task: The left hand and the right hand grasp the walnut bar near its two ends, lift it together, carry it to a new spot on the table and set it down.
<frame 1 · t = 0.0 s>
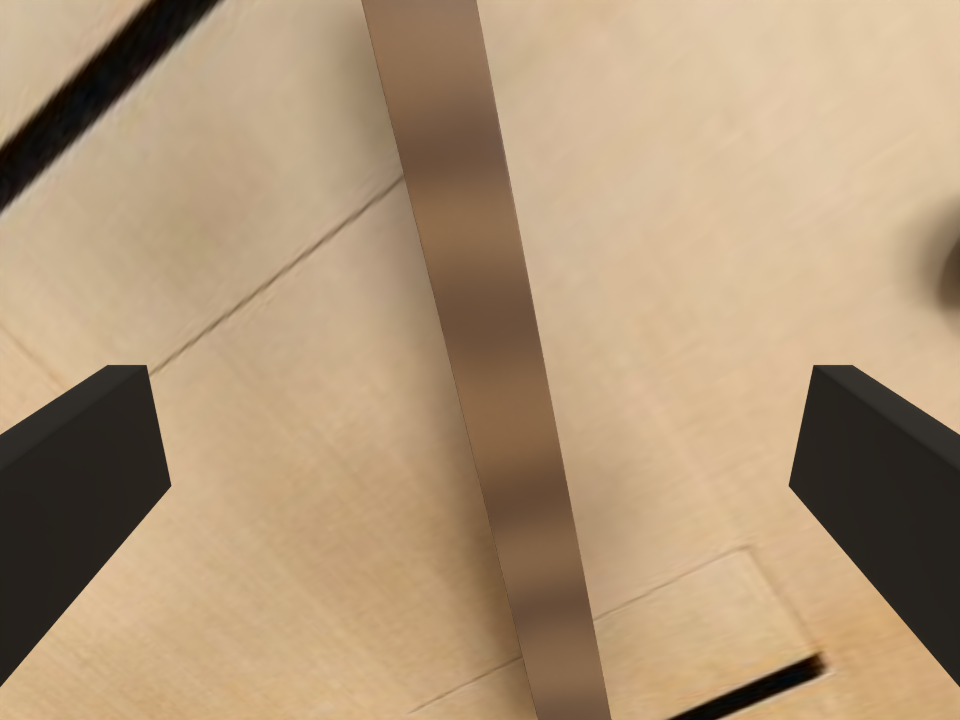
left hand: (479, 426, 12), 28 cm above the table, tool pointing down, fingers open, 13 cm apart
bar: (517, 430, 44), on the table
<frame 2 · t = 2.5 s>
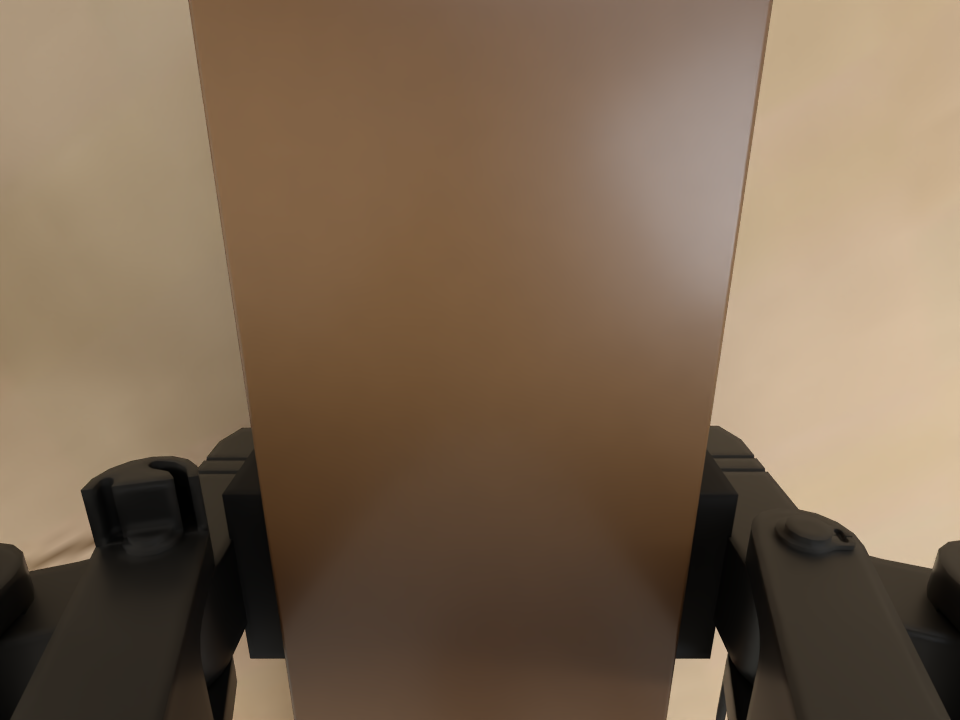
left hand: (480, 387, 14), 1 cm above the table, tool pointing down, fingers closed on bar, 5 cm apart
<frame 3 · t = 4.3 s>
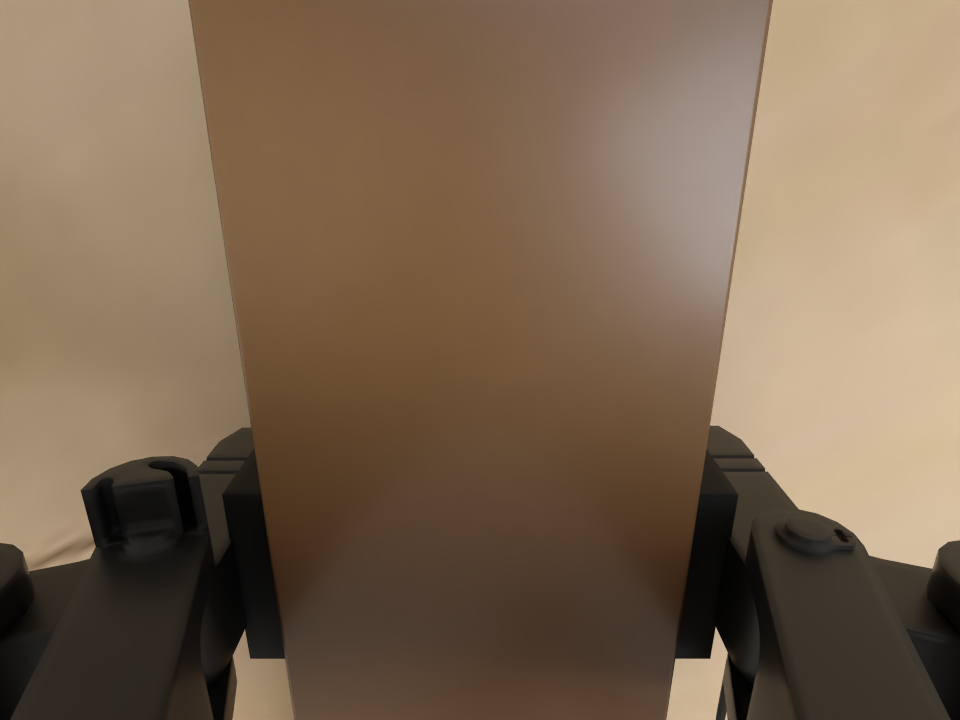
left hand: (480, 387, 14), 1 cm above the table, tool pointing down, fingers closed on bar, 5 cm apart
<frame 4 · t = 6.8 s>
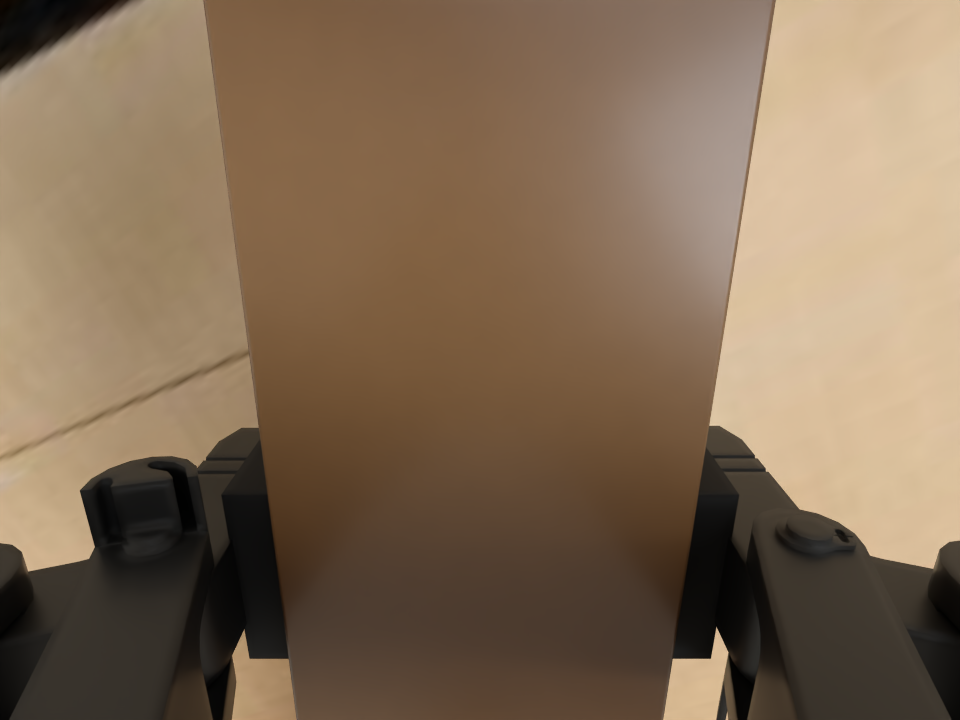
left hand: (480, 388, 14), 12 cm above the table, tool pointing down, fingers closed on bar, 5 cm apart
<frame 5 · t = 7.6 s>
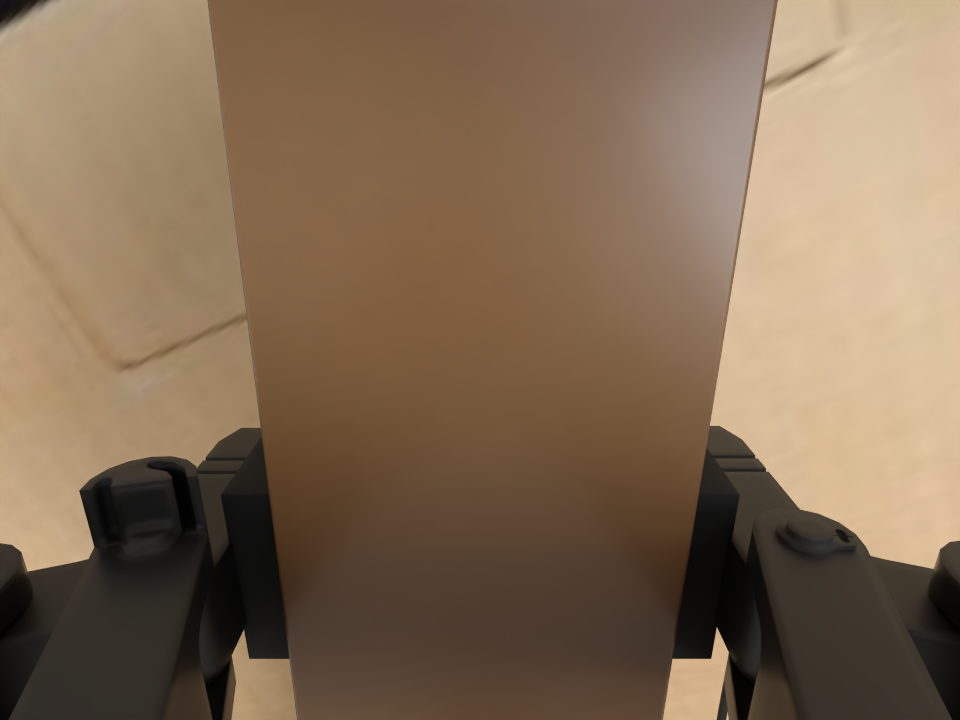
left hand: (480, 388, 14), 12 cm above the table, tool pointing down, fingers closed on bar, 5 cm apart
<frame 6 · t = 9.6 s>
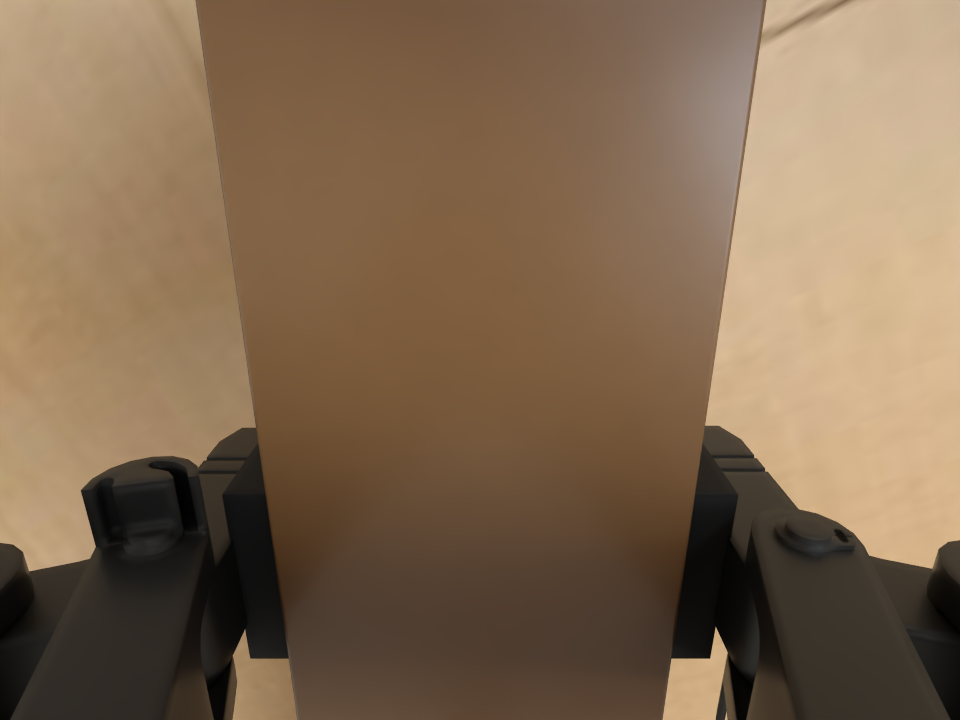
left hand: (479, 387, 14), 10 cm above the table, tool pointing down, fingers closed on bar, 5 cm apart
when the left hand's fingers open (2 cm above the table, at t = 11.1 s): bar drops 1 cm, on the table.
when the right hand's fingers open (4 cm above the table, at t = 11.3 s): bar stays where it is, on the table.
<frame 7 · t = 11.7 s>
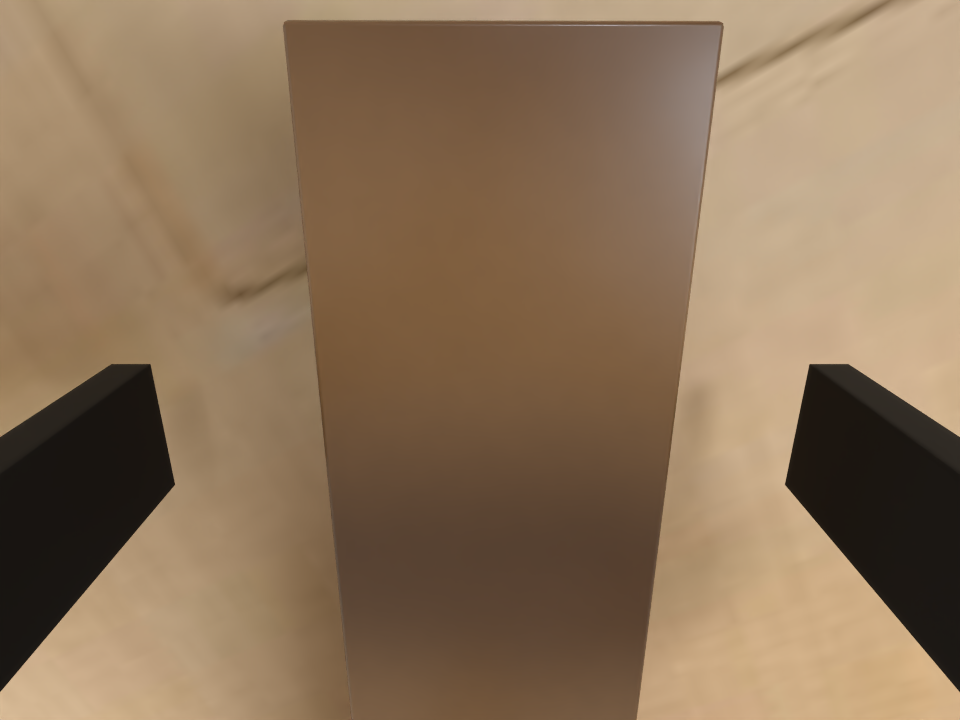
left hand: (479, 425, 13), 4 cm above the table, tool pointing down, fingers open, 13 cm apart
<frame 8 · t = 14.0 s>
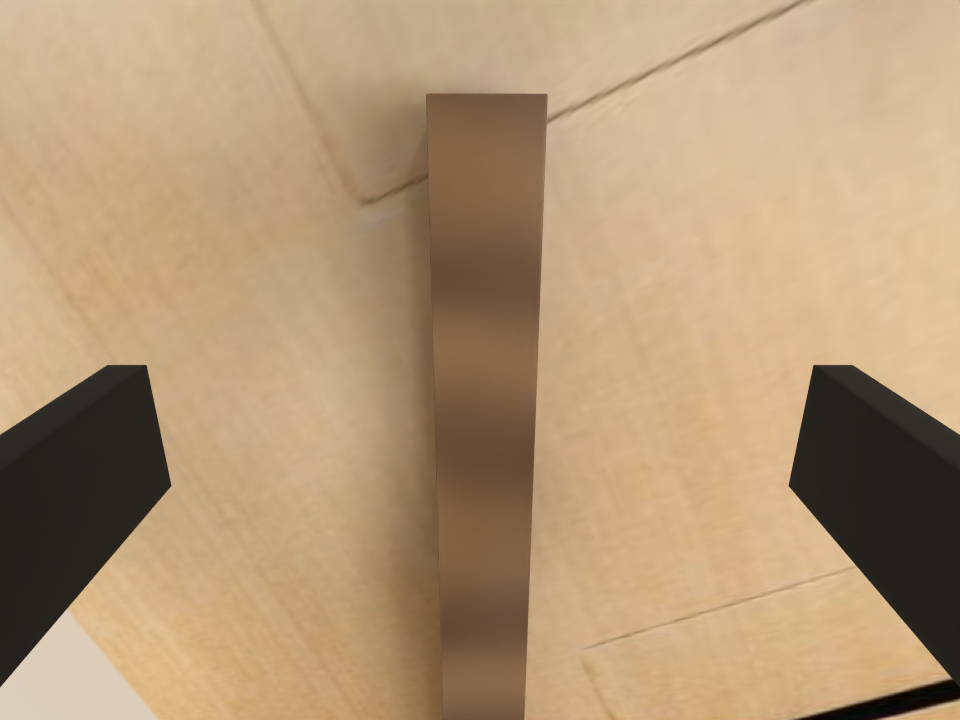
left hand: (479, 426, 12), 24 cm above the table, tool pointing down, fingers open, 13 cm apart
bar: (483, 533, 42), on the table
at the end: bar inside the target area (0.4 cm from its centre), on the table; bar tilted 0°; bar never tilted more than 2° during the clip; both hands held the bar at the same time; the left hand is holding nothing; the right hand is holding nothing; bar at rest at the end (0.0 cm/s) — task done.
